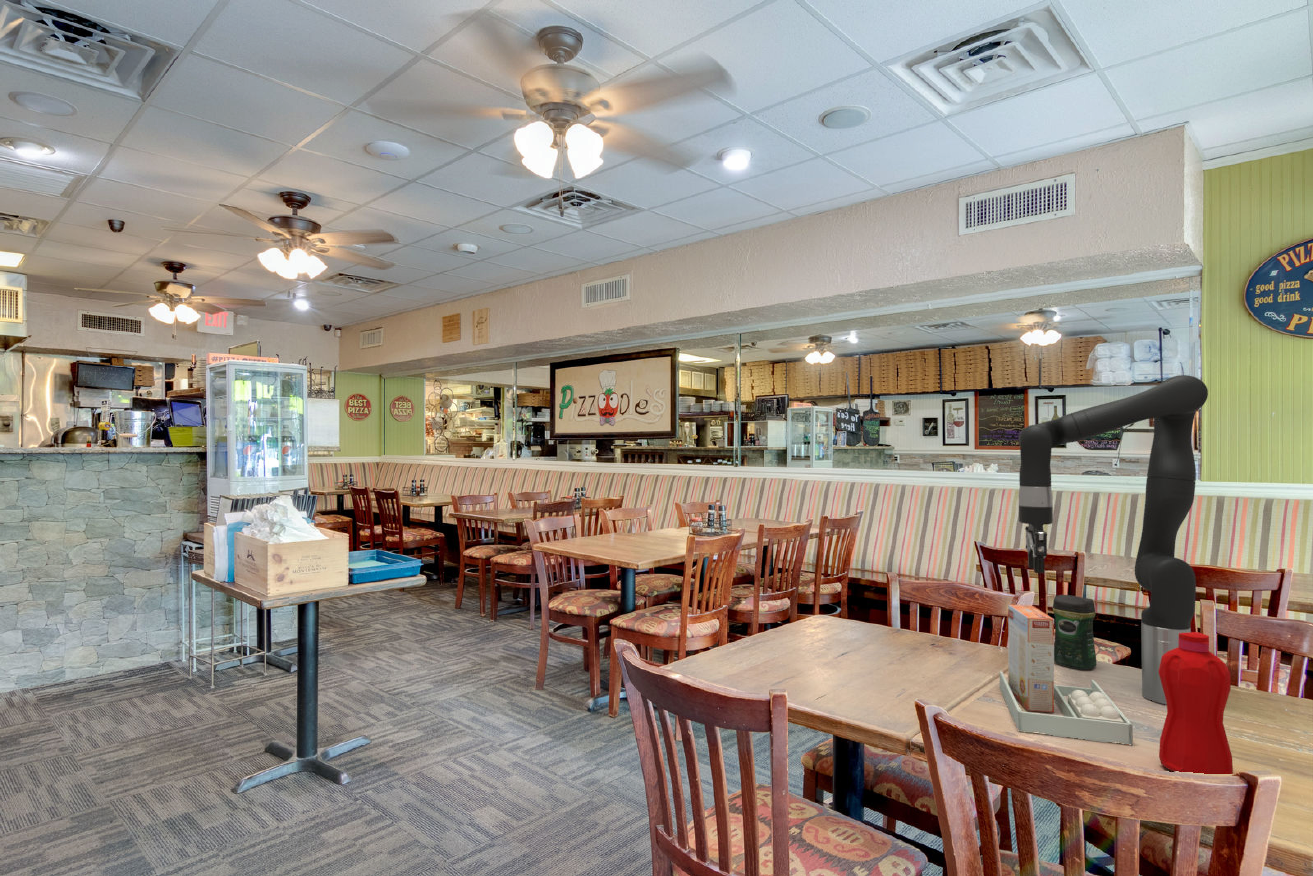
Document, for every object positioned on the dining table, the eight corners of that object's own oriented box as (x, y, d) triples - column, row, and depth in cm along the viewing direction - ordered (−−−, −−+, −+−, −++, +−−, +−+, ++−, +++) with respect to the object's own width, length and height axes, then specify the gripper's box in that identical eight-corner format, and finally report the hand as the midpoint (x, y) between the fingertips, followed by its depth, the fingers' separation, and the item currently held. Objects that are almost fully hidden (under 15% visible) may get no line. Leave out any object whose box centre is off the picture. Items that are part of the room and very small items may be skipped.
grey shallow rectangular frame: (1094, 697, 162) (1094, 680, 162) (1132, 745, 135) (1132, 725, 135) (999, 687, 168) (999, 671, 168) (1018, 731, 142) (1018, 712, 142)
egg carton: (1104, 718, 150) (1104, 689, 150) (1124, 744, 136) (1123, 712, 136) (1068, 714, 152) (1067, 685, 152) (1083, 739, 139) (1082, 707, 139)
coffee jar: (1101, 667, 184) (1100, 597, 184) (1087, 673, 179) (1086, 601, 180) (1062, 658, 192) (1062, 591, 192) (1048, 663, 187) (1047, 594, 188)
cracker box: (1056, 714, 151) (1055, 618, 152) (1026, 712, 152) (1025, 617, 153) (1034, 692, 165) (1034, 604, 165) (1007, 690, 166) (1006, 603, 167)
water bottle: (1186, 756, 131) (1184, 623, 131) (1243, 783, 120) (1241, 638, 120) (1142, 759, 129) (1141, 625, 130) (1196, 787, 118) (1194, 641, 119)
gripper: (1058, 507, 165) (1059, 576, 165) (1046, 502, 179) (1047, 566, 179) (1023, 506, 168) (1024, 574, 167) (1014, 502, 181) (1014, 565, 181)
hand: (1036, 570), depth 173 cm, fingers open, 7 cm apart
